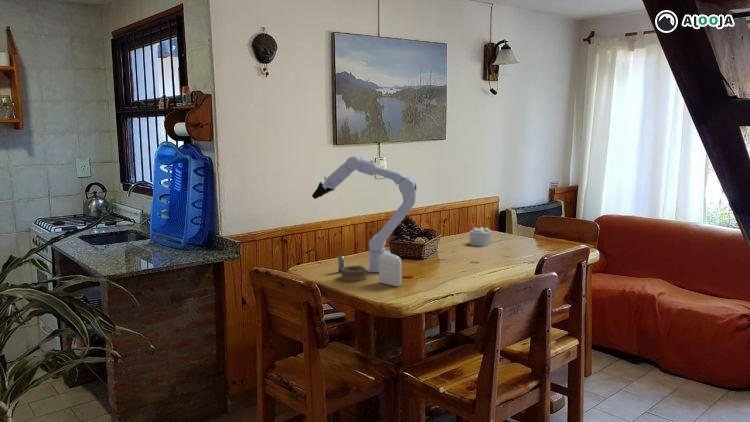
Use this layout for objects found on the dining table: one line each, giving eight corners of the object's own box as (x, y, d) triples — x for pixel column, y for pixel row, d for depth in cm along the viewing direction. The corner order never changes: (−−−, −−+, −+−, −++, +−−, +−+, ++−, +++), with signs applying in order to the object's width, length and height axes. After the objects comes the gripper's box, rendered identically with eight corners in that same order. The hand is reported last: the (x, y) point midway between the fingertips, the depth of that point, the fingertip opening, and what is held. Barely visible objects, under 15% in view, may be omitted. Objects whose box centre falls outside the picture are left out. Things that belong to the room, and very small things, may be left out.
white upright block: (377, 282, 237) (377, 252, 235) (384, 280, 240) (384, 251, 238) (396, 287, 230) (396, 256, 228) (403, 285, 233) (403, 255, 231)
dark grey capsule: (344, 271, 255) (344, 256, 254) (343, 272, 252) (343, 257, 251) (339, 271, 255) (339, 255, 254) (337, 272, 253) (337, 256, 252)
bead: (367, 275, 248) (367, 266, 247) (362, 281, 238) (362, 272, 237) (344, 274, 250) (344, 265, 249) (339, 280, 240) (338, 271, 239)
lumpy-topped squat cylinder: (467, 244, 313) (467, 228, 312) (478, 240, 323) (478, 225, 322) (484, 247, 307) (485, 230, 306) (495, 243, 317) (495, 227, 316)
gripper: (336, 168, 261) (314, 187, 264) (328, 170, 247) (305, 191, 250) (346, 180, 261) (324, 199, 264) (338, 183, 247) (315, 203, 250)
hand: (315, 196), depth 257 cm, fingers open, 7 cm apart
